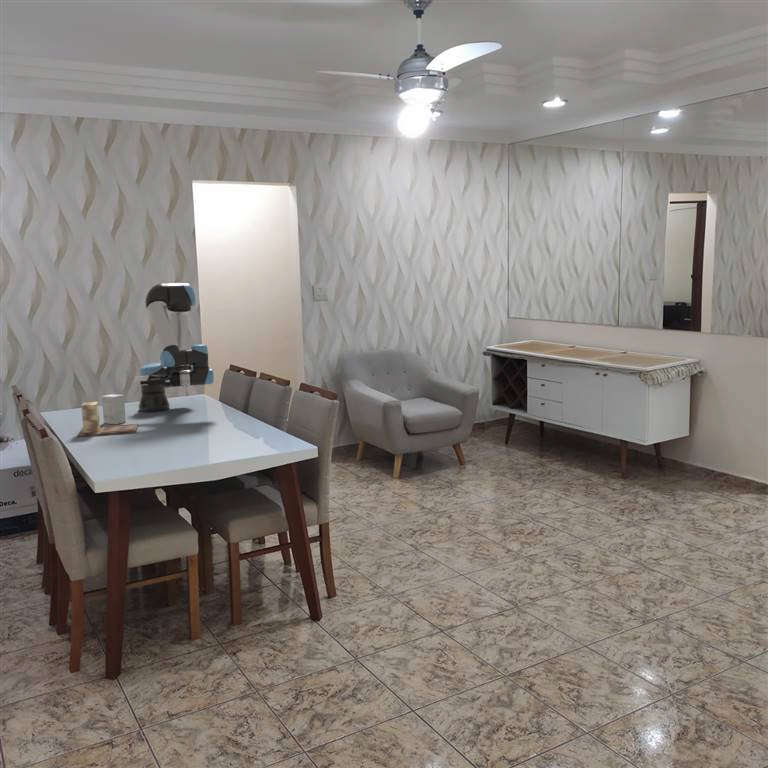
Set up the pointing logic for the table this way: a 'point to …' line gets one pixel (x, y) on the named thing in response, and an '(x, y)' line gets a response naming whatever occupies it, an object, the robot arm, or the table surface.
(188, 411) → the table surface
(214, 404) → the table surface
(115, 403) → the small box
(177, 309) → the robot arm
